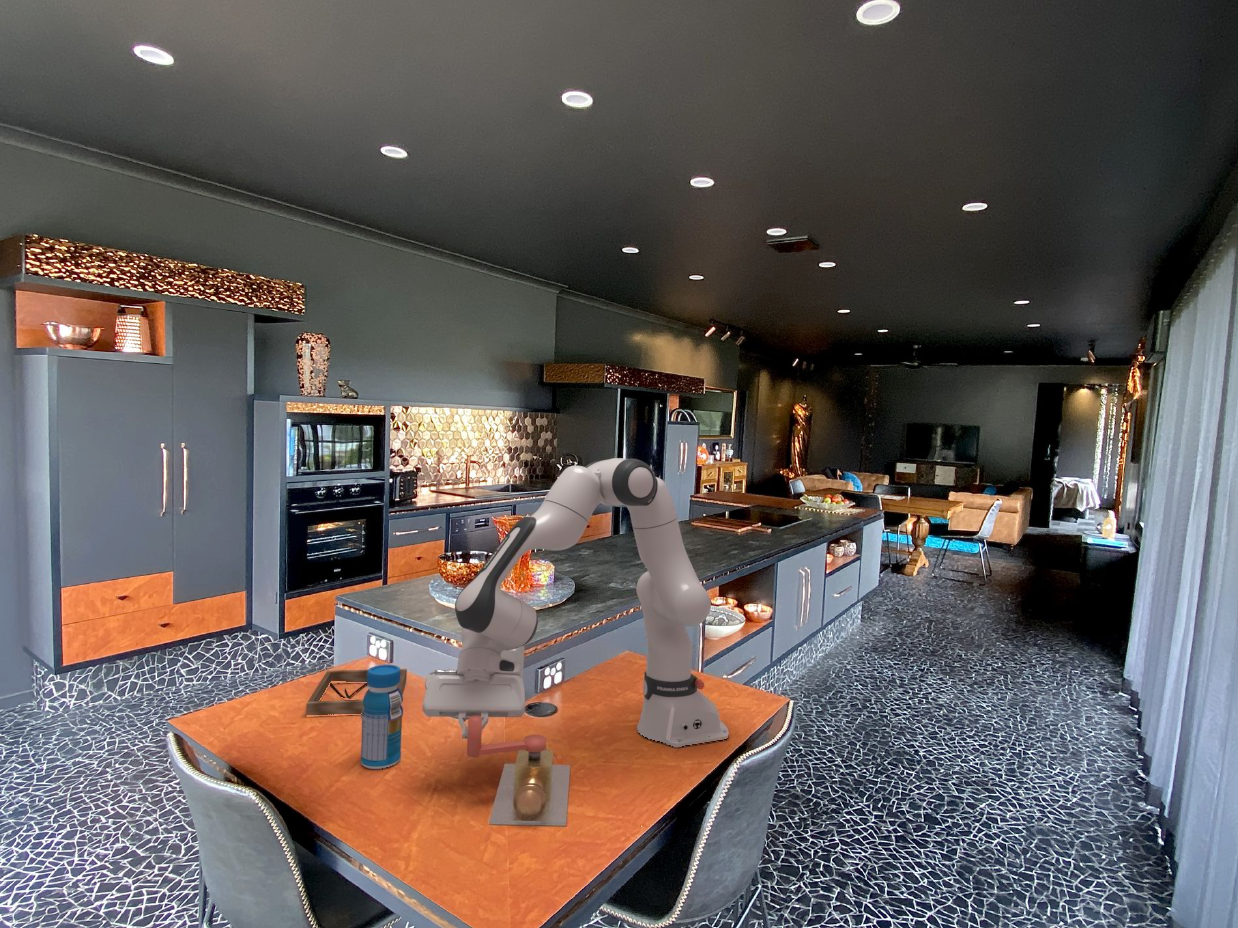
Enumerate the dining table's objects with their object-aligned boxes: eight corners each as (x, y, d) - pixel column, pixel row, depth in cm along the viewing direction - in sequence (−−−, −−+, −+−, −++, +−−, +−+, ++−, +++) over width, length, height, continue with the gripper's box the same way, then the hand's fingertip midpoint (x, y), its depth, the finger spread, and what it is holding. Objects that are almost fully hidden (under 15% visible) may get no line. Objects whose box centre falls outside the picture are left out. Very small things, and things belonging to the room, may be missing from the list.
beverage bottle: (360, 773, 140) (364, 677, 139) (358, 755, 147) (361, 664, 147) (403, 767, 143) (406, 673, 143) (399, 750, 151) (402, 661, 150)
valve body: (504, 767, 145) (506, 725, 145) (570, 768, 146) (571, 726, 145) (489, 824, 123) (490, 774, 123) (566, 825, 124) (568, 776, 123)
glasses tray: (406, 680, 194) (406, 668, 194) (397, 713, 171) (397, 700, 171) (326, 682, 190) (327, 670, 190) (306, 717, 166) (306, 703, 166)
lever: (542, 741, 137) (544, 706, 137) (548, 750, 133) (550, 714, 133) (465, 750, 131) (466, 714, 131) (468, 760, 127) (470, 723, 127)
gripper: (426, 662, 137) (414, 730, 128) (527, 664, 140) (523, 731, 130) (428, 676, 142) (418, 743, 133) (527, 678, 144) (523, 743, 135)
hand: (471, 737), depth 131 cm, fingers closed
